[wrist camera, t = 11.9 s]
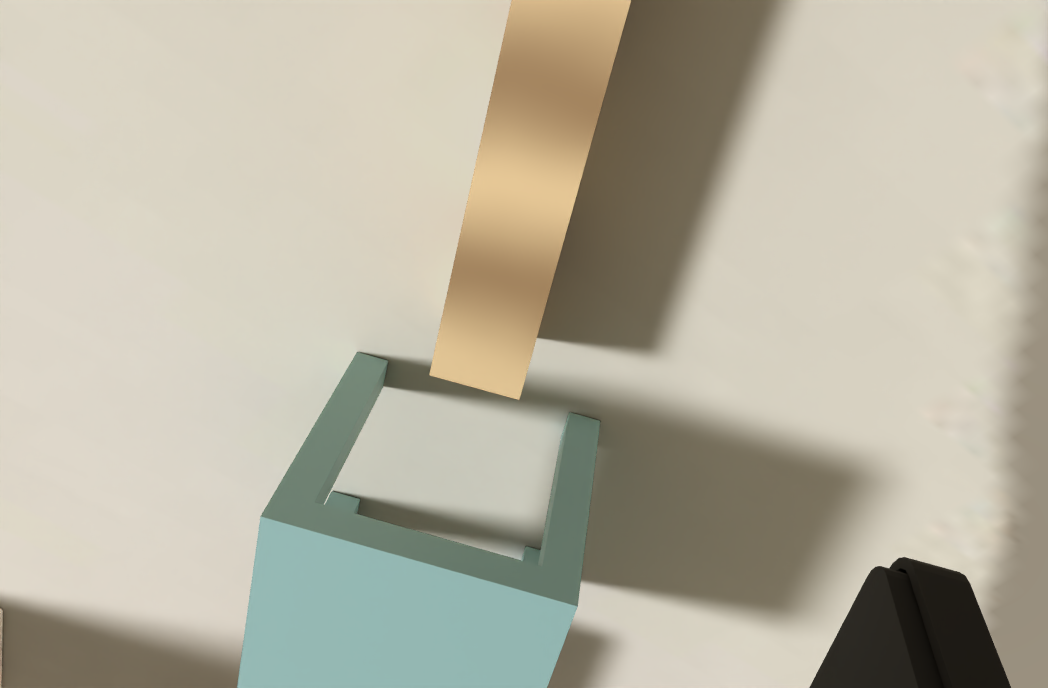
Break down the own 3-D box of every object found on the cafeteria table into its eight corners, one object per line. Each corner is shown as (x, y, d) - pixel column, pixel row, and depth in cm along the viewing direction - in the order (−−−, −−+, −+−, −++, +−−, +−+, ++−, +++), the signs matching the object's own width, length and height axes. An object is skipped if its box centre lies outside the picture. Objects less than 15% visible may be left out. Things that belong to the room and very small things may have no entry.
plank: (606, -346, 25) (594, -375, 21) (718, -316, 25) (726, -338, 21) (456, 312, 35) (429, 375, 31) (536, 334, 35) (519, 400, 31)
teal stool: (357, 352, 36) (260, 516, 28) (600, 420, 36) (577, 606, 28) (327, 513, 40) (235, 700, 32) (547, 575, 40) (512, 778, 32)
